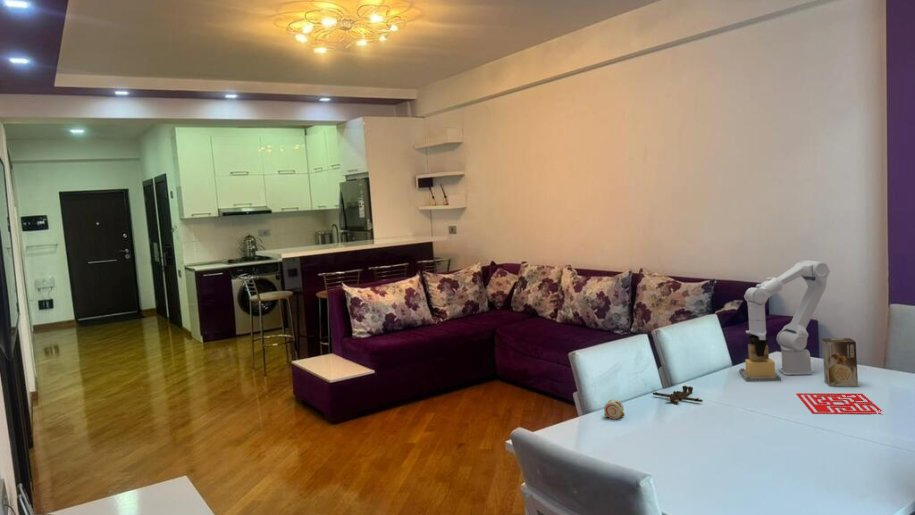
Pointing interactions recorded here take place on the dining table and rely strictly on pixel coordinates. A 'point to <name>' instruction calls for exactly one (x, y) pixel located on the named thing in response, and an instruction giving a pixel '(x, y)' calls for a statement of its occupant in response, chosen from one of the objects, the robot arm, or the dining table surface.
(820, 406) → the maze puzzle
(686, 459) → the dining table surface
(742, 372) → the base plate
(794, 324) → the robot arm
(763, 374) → the brick
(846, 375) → the coffee box
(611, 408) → the cinnamon roll
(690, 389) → the brown crossed rod frame
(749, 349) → the walnut block
